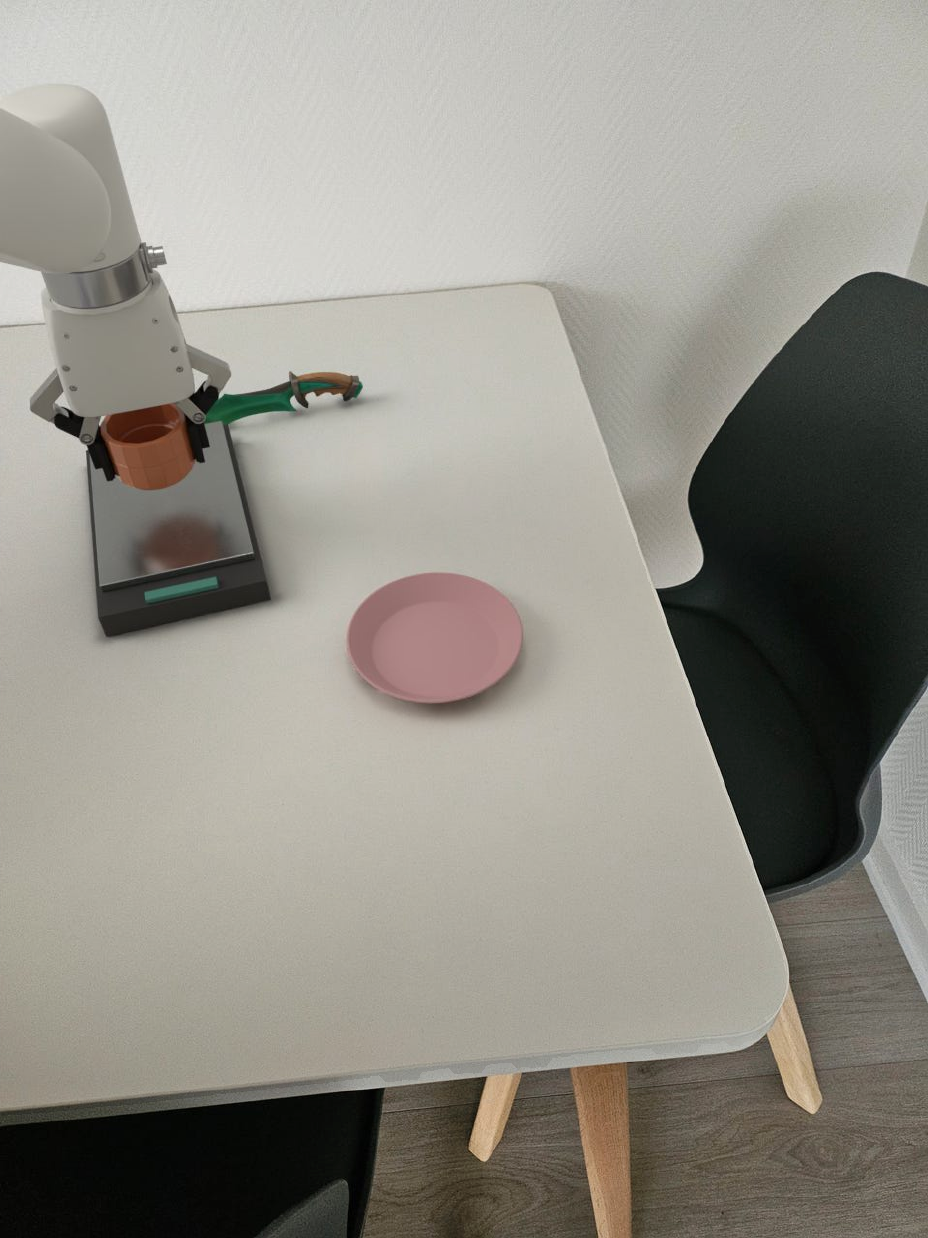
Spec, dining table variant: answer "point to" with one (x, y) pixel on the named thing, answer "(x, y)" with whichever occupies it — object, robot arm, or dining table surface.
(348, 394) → the knife
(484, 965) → the dining table surface
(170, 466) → the bowl
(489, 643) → the plate
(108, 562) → the scale
